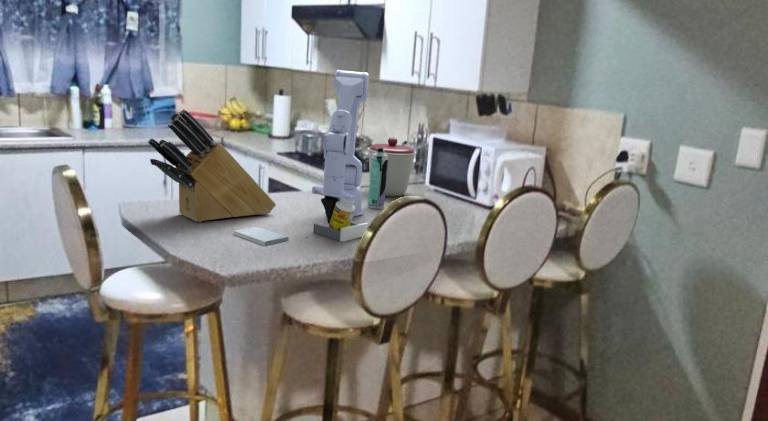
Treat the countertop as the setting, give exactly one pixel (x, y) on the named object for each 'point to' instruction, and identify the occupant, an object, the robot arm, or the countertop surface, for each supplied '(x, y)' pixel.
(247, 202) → the knife block
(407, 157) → the canister
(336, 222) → the supplement bottle
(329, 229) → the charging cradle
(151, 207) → the countertop surface
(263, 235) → the hard drive
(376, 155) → the spray can
